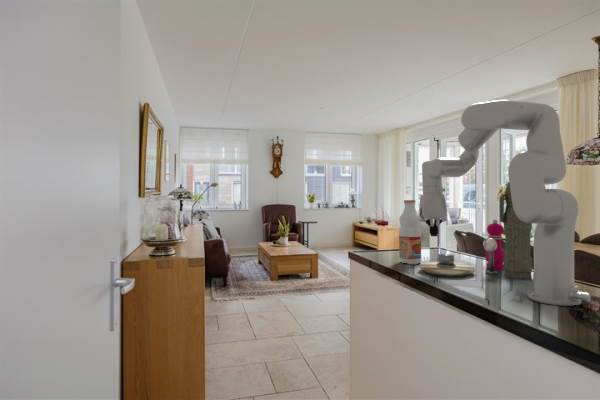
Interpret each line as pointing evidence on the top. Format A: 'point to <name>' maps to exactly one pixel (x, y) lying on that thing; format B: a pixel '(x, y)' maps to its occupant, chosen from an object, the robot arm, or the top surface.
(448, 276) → the turntable base
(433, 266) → the turntable
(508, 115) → the robot arm
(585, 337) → the top surface
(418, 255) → the fruit juice
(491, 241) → the globe topped trophy
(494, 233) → the pepper mill
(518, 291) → the top surface
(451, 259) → the cover
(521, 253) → the thermos
